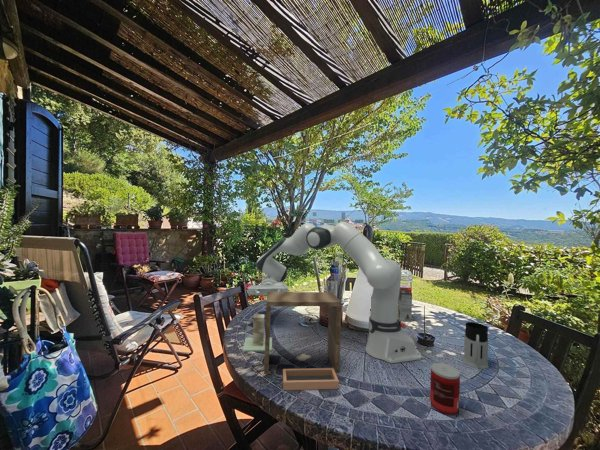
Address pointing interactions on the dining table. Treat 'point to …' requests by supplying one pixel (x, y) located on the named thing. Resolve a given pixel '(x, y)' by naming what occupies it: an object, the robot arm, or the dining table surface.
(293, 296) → the walnut tunnel
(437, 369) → the canned food
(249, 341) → the sage pad
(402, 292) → the coffee box
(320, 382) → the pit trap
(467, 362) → the glass holder
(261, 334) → the ash block
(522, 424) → the dining table surface
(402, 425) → the dining table surface
